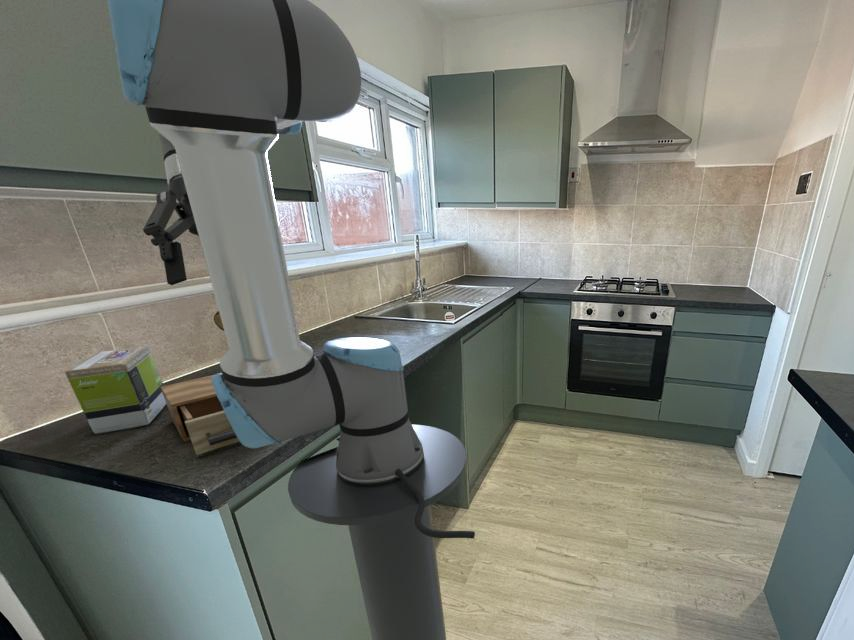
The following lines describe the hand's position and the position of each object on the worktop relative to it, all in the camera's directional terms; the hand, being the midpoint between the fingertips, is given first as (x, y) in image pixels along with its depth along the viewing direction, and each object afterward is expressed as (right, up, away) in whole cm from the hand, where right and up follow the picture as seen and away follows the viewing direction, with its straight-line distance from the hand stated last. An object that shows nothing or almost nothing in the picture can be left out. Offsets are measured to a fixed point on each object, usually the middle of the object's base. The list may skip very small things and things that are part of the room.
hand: (212, 296), depth 73 cm
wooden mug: (-27, -12, +52) cm, 60 cm away
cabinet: (-15, -24, +20) cm, 34 cm away
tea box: (-35, -23, +24) cm, 48 cm away
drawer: (-5, -26, +11) cm, 29 cm away
